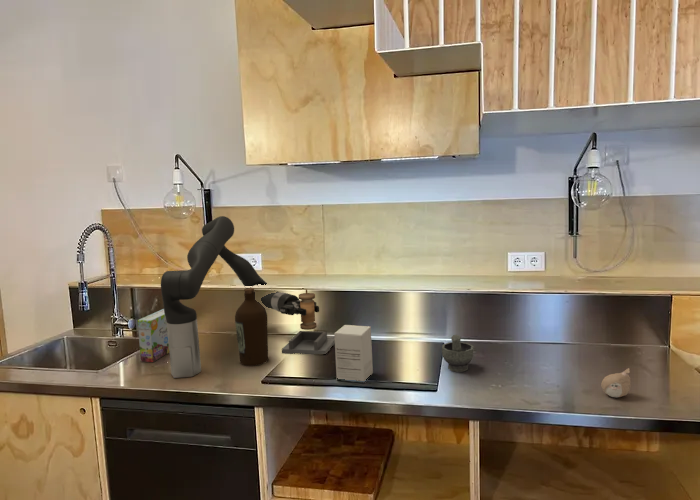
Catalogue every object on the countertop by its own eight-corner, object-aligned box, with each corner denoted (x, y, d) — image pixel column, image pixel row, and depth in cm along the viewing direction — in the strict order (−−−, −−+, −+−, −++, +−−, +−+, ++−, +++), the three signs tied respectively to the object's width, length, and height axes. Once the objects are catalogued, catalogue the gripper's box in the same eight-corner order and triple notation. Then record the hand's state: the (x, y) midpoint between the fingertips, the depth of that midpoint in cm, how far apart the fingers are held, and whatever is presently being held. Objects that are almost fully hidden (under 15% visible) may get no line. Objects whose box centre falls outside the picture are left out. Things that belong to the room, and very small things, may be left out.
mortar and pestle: (444, 361, 164) (443, 325, 163) (474, 363, 162) (474, 326, 160) (440, 374, 154) (439, 336, 152) (472, 376, 151) (471, 337, 149)
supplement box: (346, 370, 160) (344, 324, 158) (373, 372, 157) (371, 325, 155) (335, 381, 152) (333, 332, 150) (364, 384, 149) (362, 334, 147)
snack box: (154, 362, 175) (150, 320, 173) (140, 362, 176) (135, 319, 174) (186, 343, 196) (182, 304, 194) (173, 342, 197) (169, 304, 195)
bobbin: (316, 329, 181) (314, 291, 179) (300, 330, 180) (298, 292, 178) (316, 324, 186) (314, 288, 184) (300, 325, 186) (298, 289, 184)
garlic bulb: (621, 403, 130) (622, 373, 129) (596, 395, 135) (597, 366, 134) (634, 396, 134) (635, 366, 132) (609, 388, 139) (610, 360, 138)
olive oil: (264, 353, 179) (260, 284, 176) (274, 362, 170) (269, 289, 167) (234, 359, 175) (229, 288, 171) (242, 369, 165) (237, 293, 162)
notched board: (336, 342, 189) (335, 330, 188) (325, 355, 175) (325, 342, 175) (295, 340, 193) (294, 329, 192) (281, 353, 179) (281, 340, 179)
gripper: (268, 297, 188) (294, 304, 175) (300, 290, 197) (327, 296, 184) (269, 316, 189) (296, 325, 176) (301, 309, 198) (328, 317, 185)
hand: (311, 310), depth 180 cm, fingers closed on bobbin, 5 cm apart
